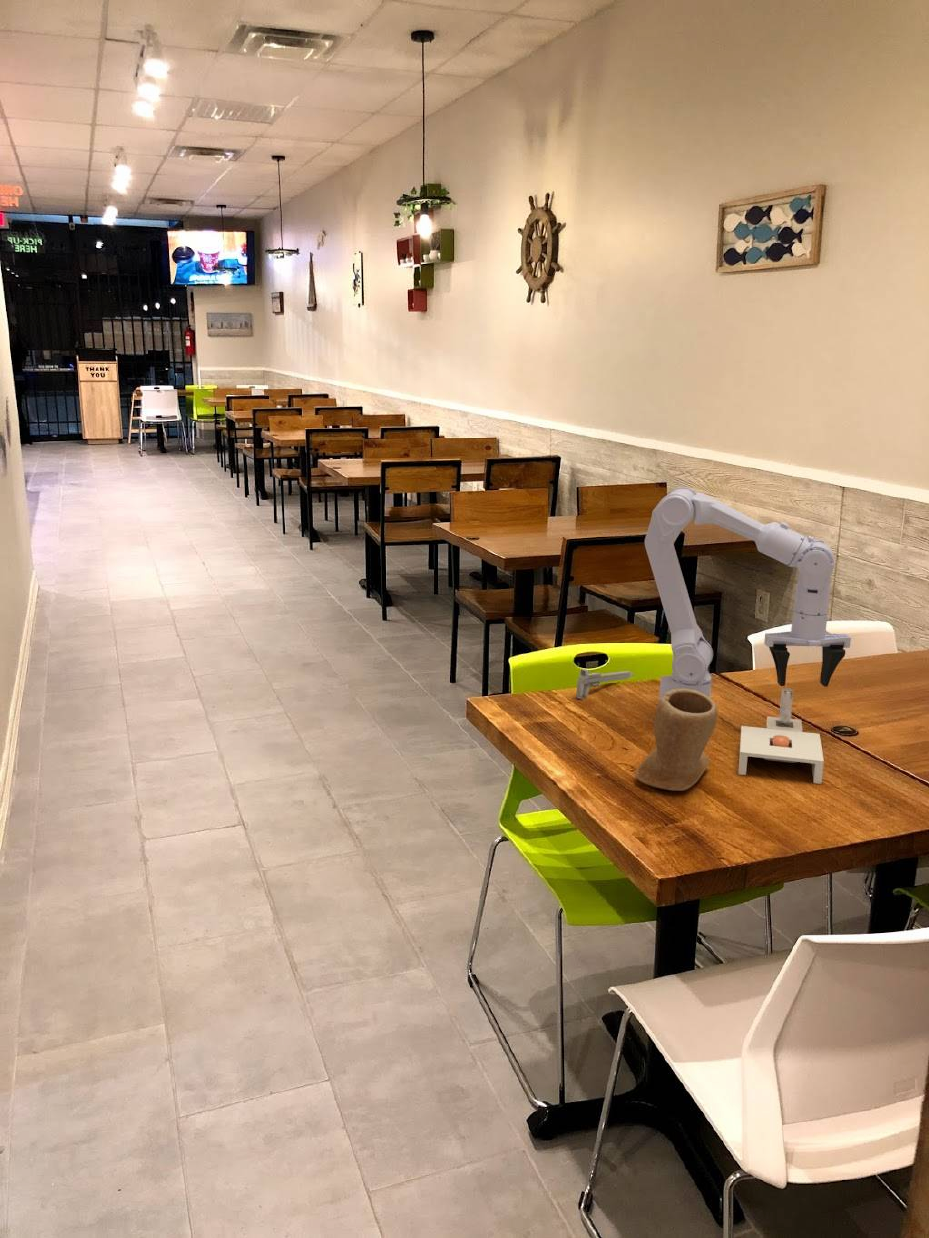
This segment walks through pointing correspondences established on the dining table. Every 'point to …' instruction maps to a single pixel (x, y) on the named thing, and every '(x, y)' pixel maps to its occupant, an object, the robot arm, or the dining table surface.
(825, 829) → the dining table surface
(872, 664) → the dining table surface
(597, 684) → the caliper
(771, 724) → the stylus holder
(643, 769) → the stone cup
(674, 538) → the robot arm
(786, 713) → the stylus
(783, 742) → the button
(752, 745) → the white slotted stand
